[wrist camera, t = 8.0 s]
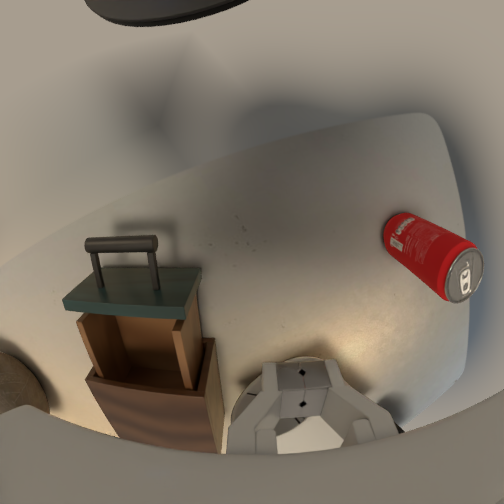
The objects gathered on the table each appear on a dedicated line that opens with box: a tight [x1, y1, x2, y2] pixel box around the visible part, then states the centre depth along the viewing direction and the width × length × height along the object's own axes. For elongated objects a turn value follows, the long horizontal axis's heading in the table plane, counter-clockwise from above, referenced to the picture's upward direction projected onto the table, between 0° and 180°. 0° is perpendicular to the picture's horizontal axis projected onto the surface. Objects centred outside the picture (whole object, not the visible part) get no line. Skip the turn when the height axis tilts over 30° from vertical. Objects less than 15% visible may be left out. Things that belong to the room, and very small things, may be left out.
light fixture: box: [231, 356, 404, 454], centre depth 29 cm, size 17×19×34 cm
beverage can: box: [383, 213, 484, 303], centre depth 21 cm, size 5×5×12 cm
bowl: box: [0, 352, 50, 414], centre depth 30 cm, size 21×21×15 cm
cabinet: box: [85, 338, 225, 454], centre depth 30 cm, size 16×14×10 cm
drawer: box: [62, 235, 205, 391], centre depth 25 cm, size 19×12×8 cm, turn 1°
